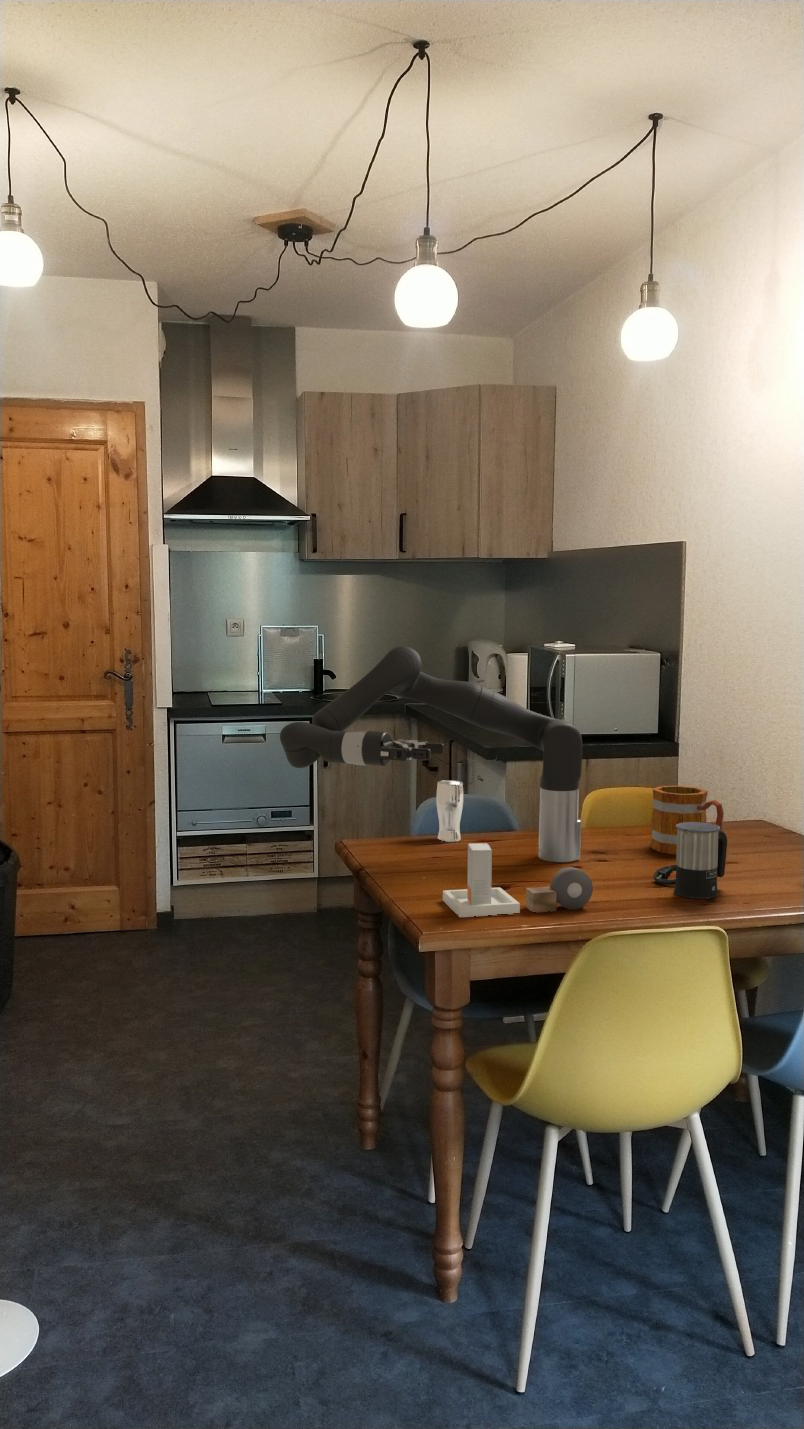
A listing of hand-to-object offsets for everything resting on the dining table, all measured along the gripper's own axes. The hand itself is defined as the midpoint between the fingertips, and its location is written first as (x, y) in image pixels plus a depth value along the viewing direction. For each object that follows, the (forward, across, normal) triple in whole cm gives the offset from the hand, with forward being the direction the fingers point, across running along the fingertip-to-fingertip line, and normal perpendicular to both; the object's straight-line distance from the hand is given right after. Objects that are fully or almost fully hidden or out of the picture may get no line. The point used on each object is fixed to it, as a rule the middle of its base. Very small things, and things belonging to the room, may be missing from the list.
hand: (437, 751), depth 233 cm
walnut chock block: (+24, -6, +30) cm, 39 cm away
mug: (+46, +58, +31) cm, 80 cm away
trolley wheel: (+30, -3, +30) cm, 43 cm away
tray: (+13, -10, +30) cm, 34 cm away
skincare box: (+12, -10, +30) cm, 34 cm away
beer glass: (-13, +47, +30) cm, 57 cm away
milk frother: (+49, +21, +31) cm, 62 cm away
